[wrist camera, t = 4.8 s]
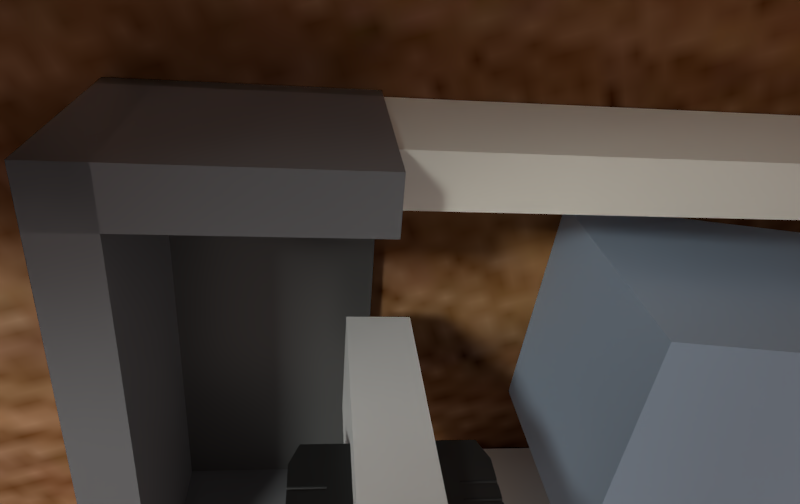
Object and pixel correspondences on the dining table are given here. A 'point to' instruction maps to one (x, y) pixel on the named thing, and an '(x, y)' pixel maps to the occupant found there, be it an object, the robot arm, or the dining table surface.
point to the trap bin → (202, 276)
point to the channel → (592, 177)
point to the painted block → (664, 363)
